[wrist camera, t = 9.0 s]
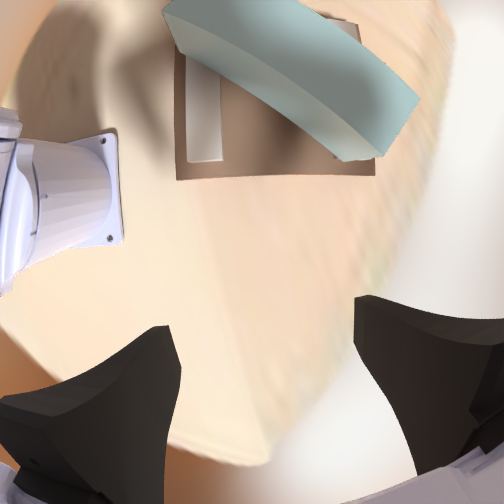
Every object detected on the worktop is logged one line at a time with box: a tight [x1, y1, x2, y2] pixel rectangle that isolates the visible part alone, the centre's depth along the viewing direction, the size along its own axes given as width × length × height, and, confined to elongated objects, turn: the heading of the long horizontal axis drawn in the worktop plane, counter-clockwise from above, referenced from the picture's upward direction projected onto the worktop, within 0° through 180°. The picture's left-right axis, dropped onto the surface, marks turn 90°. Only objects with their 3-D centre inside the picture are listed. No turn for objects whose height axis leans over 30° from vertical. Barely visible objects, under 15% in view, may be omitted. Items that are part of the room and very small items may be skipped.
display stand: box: [174, 18, 375, 180], centre depth 16 cm, size 13×12×3 cm
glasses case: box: [161, 0, 420, 162], centre depth 12 cm, size 12×4×5 cm, turn 54°
